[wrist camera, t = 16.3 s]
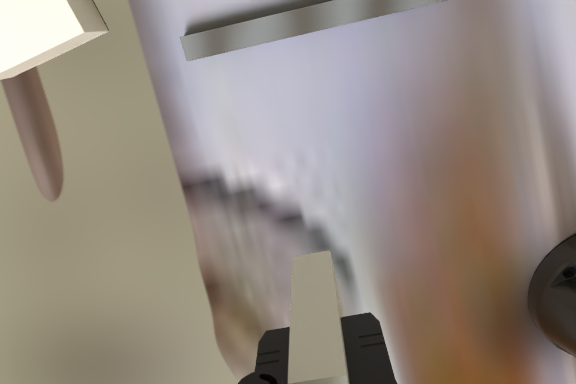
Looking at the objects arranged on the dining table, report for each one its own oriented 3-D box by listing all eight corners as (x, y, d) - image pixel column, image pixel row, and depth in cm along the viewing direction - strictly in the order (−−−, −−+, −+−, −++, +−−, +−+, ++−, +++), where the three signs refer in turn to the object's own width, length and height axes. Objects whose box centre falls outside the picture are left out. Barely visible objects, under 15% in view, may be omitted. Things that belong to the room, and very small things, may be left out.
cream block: (64, -54, 35) (30, -66, 30) (109, 31, 38) (84, 32, 33) (-36, -2, 37) (-83, -5, 32) (14, 76, 39) (-24, 84, 34)
